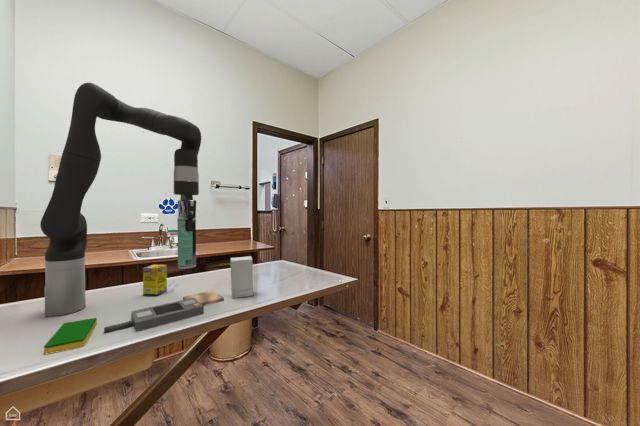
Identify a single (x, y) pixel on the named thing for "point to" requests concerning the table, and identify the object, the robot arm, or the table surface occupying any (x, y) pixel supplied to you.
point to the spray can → (186, 244)
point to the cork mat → (206, 297)
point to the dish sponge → (71, 335)
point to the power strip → (150, 318)
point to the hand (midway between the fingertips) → (186, 230)
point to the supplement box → (154, 280)
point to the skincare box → (241, 277)
